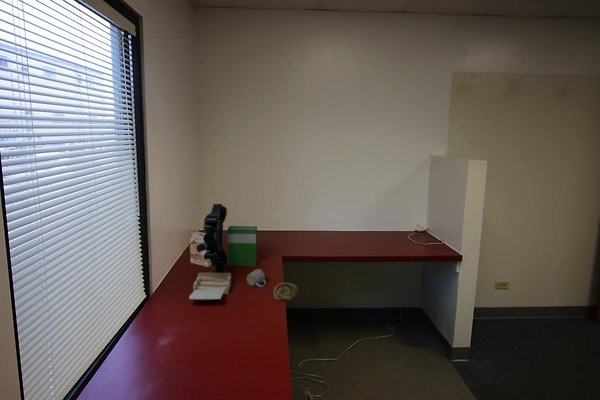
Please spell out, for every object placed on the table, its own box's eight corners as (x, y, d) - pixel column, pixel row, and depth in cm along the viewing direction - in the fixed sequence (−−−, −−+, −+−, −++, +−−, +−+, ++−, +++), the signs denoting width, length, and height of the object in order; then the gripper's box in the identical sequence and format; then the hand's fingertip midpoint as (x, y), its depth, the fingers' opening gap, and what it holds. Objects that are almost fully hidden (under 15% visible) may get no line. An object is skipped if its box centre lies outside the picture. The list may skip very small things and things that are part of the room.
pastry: (276, 302, 184) (276, 288, 183) (270, 292, 196) (270, 278, 194) (302, 299, 189) (303, 285, 187) (295, 289, 200) (295, 275, 199)
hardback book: (256, 261, 240) (256, 226, 235) (255, 265, 233) (255, 229, 228) (230, 261, 239) (229, 226, 235) (228, 265, 232) (227, 229, 227)
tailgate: (195, 289, 189) (189, 296, 176) (224, 289, 190) (220, 296, 177) (195, 293, 189) (189, 300, 176) (224, 293, 190) (220, 300, 177)
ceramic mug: (245, 284, 204) (245, 271, 203) (254, 279, 211) (254, 267, 210) (260, 289, 199) (260, 276, 197) (269, 284, 206) (269, 271, 204)
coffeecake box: (190, 262, 235) (189, 233, 231) (197, 259, 241) (197, 231, 238) (207, 267, 228) (207, 237, 225) (215, 263, 235) (214, 234, 231)
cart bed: (198, 283, 204) (198, 272, 203) (231, 283, 205) (230, 272, 204) (193, 294, 191) (192, 282, 190) (227, 294, 192) (227, 282, 191)
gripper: (201, 233, 204) (201, 259, 207) (193, 243, 186) (194, 272, 189) (221, 233, 205) (221, 259, 208) (215, 243, 187) (216, 272, 190)
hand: (213, 265), depth 199 cm, fingers closed
